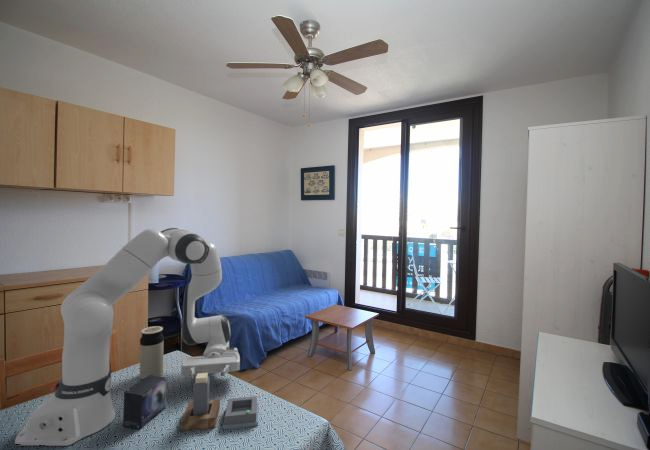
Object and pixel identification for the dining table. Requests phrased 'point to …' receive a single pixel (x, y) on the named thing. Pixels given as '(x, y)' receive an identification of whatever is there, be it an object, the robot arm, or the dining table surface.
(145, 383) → the small box
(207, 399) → the plug
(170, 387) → the dining table surface
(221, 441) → the dining table surface
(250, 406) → the dock
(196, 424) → the frame
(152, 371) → the travel mug
